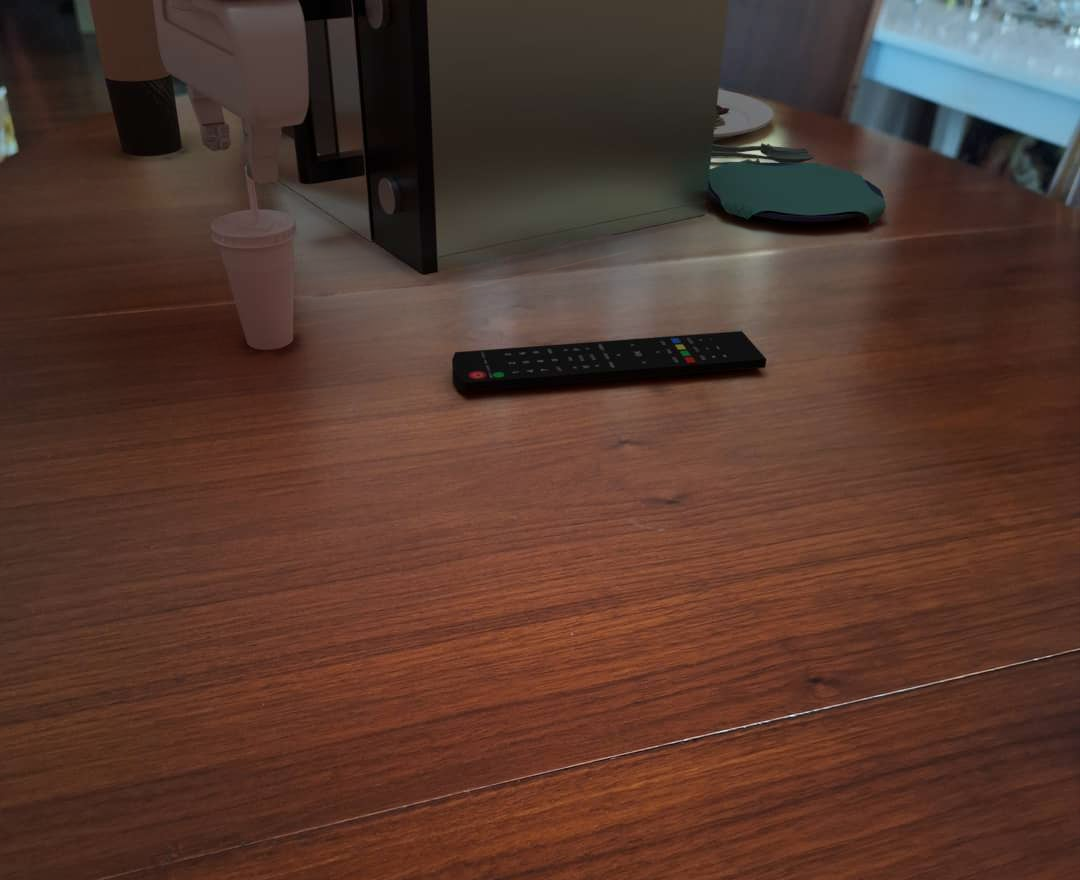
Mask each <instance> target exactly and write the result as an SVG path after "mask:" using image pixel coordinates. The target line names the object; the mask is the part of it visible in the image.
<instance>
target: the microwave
mask: <svg viewBox="0 0 1080 880" xmlns="http://www.w3.org/2000/svg"><path fill="white" fill-rule="evenodd" d="M356 1H357V14H358V27H359V40H360V53H361V66H362V79H363V93H364V106H365V119H366V132H367V145H368V158H369V171H370V184H371V198H372V211H373V224H374V237H375V241H374V243H375V244H377V245H378V246H380V247H382V248H383V249H385V250H386V251H388V252H389V253H390V254H392V255H394V256H395V257H397V258H398V259H400V260H401V261H402V262H404V263H406V264H407V265H408V266H411V268H413V269H415V270H416V271H417V272H420V273H421V274H429V273H433V272H437V273H439V272H445V271H449V270H454V269H458V268H463V267H468V266H473V265H477V264H481V263H486V262H491V261H495V260H501V259H504V258H510V257H513V256H514V257H515V256H518V255H522V254H523V255H524V254H527V253H531V252H536V251H541V250H546V249H550V248H556V247H560V246H565V245H569V244H573V243H574V244H575V243H579V242H583V241H588V240H592V239H597V238H601V237H606V236H610V235H611V236H614V235H619V234H622V233H628V232H632V231H637V230H641V229H642V230H643V229H646V228H650V227H656V226H660V225H664V224H665V225H666V224H669V223H673V222H678V221H683V220H687V219H692V218H697V217H700V216H705V215H706V207H707V198H708V196H707V190H708V181H709V172H710V169H711V165H710V163H711V162H712V157H711V154H712V145H713V144H714V140H713V136H714V127H715V118H716V109H717V99H718V90H720V81H721V80H720V79H721V73H722V64H723V63H722V60H723V52H724V44H725V35H726V25H727V18H728V17H727V16H728V8H729V6H728V5H729V0H356Z"/></svg>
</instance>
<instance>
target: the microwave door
mask: <svg viewBox="0 0 1080 880" xmlns="http://www.w3.org/2000/svg"><path fill="white" fill-rule="evenodd" d="M298 1H299V3H300V5H301V8H302V11H303V16H304V22H305V30H306V42H307V57H308V78H309V105H308V109H307V113H306V116H305V119H304V121H303V122H302V123H301V124H298V125H292V126H285V127H281V131H282V135H281V140H280V145H279V150H278V155H277V164H278V174H279V177H278V180H277V181H278V182H280V183H281V184H283V185H284V186H286V187H287V188H289V189H291V190H292V191H293V192H295V193H297V194H298V195H300V197H303V198H304V199H305V200H307V201H309V203H312V204H313V205H314V206H316V207H318V208H319V209H320V210H322V211H323V212H325V213H326V214H328V215H329V216H331V217H333V218H334V219H336V220H337V221H339V222H340V223H342V224H343V225H344V226H346V227H348V229H351V230H352V231H353V232H355V233H356V234H358V235H359V236H361V237H362V238H364V239H366V240H367V241H369V242H375V237H374V224H373V211H372V198H371V184H370V171H369V158H368V145H367V132H366V119H365V106H364V93H363V79H362V66H361V53H360V40H359V27H358V14H357V1H356V0H298ZM241 125H242V132H243V137H244V138H243V139H244V145H245V146H244V147H245V152H246V153H245V154H248V134H247V133H245V130H244V123H243V119H241Z"/></svg>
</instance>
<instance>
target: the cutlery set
mask: <svg viewBox="0 0 1080 880" xmlns="http://www.w3.org/2000/svg"><path fill="white" fill-rule="evenodd" d="M756 151H759V152H760V153H761V154H762V155H761V154H754V153H753V154H752V153H748V152H756ZM746 152H747V153H746ZM711 158H746V159H744V160H740V161H721V162H720V161H711V163H710V166H715V167H712V168H710V172H709V181H708V190H707V198H709V199H710V200H711V201H714V202H715V203H717V204H720V205H721V206H722V208H723V209H724V210H725V212H726V213H728V214H730V215H731V216H732V215H736V216H738V217H739V218H740V217H741V218H745V219H746V220H748V219H750V218H751V217H752V216H755V217H759V218H760V217H761V218H765V219H766V218H767V219H772V220H778V221H787V222H788V221H789V222H805V223H820V222H836V221H837V222H838V221H842V220H846V219H853V218H858V217H862V216H864V215H866V216H867V218H869V223H868V224H867V226H870V225H871V224H873V223H875V222H876V221H877V220H879V219H880V218H881V217H882V216H883V214H884V213H885V210H886V205H887V204H886V200H885V197H884V195H883V192H882V190H881V189H880V188H879V187H877V186H876V185H875V184H873V183H872V182H870V180H867V179H865V178H864V177H863V176H862V175H861V174H859V173H856V172H854V171H848V170H846V169H840V168H838V167H832V166H830V165H828V166H827V165H824V164H820V162H807V161H810V160H812V159H814V158H816V156H815V155H814V154H811V153H809V150H808V149H807V148H806V147H805V148H792V147H786V146H785V147H784V146H773V145H771V144H770V143H767V144H765V143H763V142H761V144H760V145H748V146H747V145H746V146H745V145H744V146H731V145H721V144H715V143H713V145H712V154H711ZM751 159H756V160H751ZM760 159H761V160H772V161H773V162H768V161H766V162H761V161H760ZM717 165H718V166H717Z"/></svg>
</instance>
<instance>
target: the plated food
mask: <svg viewBox="0 0 1080 880" xmlns="http://www.w3.org/2000/svg"><path fill="white" fill-rule="evenodd" d="M774 115H775V112H774V111H773V109H772V107H771V106H769V105H768V104H766V103H765V102H763V101H761V100H759V99H756V98H754V97H751V96H748V95H745V94H742V93H737V92H734V91H729V90H723V89H719V90H718V99H717V109H716V118H715V127H714V136H713V141H720V140H725V139H729V138H732V137H735V136H737V135H742V134H746V133H751V132H754V131H755V132H756V131H757V130H760V129H762V128H764V127H766V126H768V125H769V124H770V123H772V122H773V119H774V117H775V116H774Z"/></svg>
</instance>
